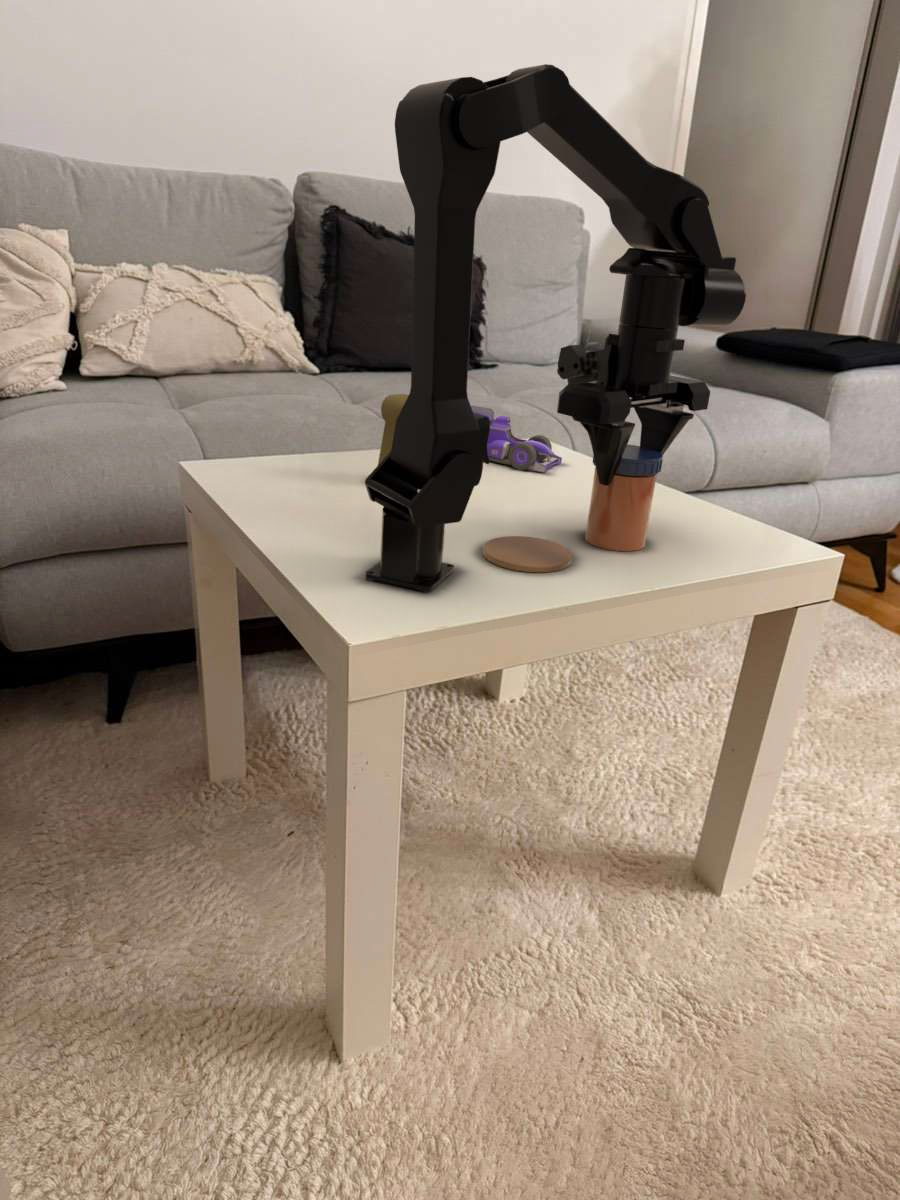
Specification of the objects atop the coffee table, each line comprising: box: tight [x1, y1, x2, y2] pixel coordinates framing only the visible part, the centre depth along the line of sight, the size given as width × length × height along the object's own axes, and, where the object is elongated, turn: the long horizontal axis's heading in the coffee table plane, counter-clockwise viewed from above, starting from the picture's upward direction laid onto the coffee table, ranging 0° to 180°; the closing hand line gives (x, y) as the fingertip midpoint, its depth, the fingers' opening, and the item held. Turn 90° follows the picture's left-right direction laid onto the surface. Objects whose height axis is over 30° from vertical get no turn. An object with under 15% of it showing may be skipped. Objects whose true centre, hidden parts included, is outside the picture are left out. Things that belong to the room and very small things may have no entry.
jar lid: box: [592, 443, 664, 476], centre depth 89 cm, size 7×7×2 cm
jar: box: [584, 465, 658, 552], centre depth 90 cm, size 6×6×9 cm
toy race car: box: [471, 405, 563, 474], centre depth 122 cm, size 10×15×6 cm, turn 64°
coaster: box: [482, 535, 573, 574], centre depth 86 cm, size 9×9×1 cm
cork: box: [377, 393, 409, 466], centre depth 105 cm, size 6×6×11 cm
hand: (624, 480), depth 90 cm, fingers closed on jar lid, 7 cm apart
